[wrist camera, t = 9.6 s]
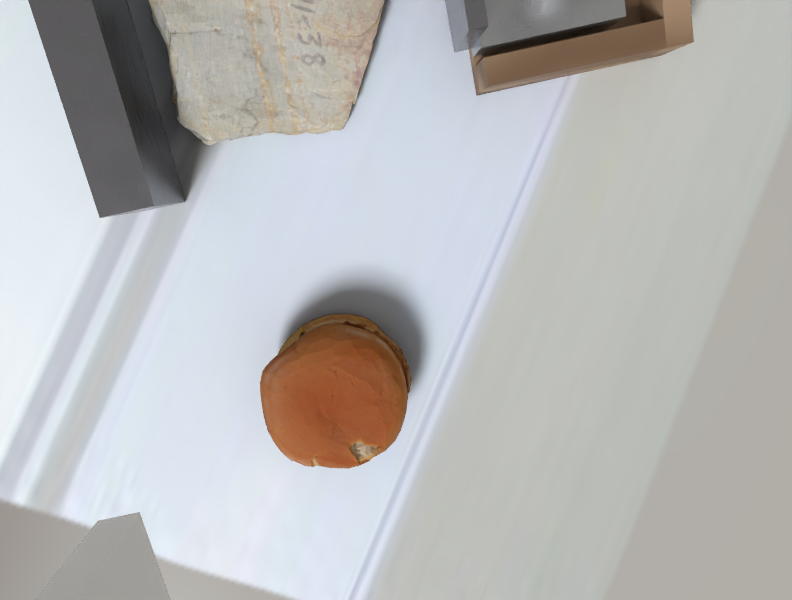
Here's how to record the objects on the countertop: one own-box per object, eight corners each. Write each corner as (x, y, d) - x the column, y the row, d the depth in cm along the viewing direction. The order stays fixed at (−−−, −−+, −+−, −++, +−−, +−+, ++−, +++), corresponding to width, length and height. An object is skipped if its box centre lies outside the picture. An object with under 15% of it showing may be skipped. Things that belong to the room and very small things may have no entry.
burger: (328, 284, 36) (321, 301, 32) (436, 369, 38) (444, 396, 33) (238, 395, 38) (219, 425, 33) (345, 471, 39) (342, 511, 35)
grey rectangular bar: (50, -71, 31) (-11, -117, 26) (102, -83, 31) (51, -130, 26) (138, 211, 35) (99, 217, 30) (185, 201, 35) (154, 206, 30)
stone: (394, -71, 32) (397, -93, 30) (424, 116, 35) (428, 111, 32) (142, -28, 32) (123, -46, 30) (188, 157, 34) (173, 155, 32)
